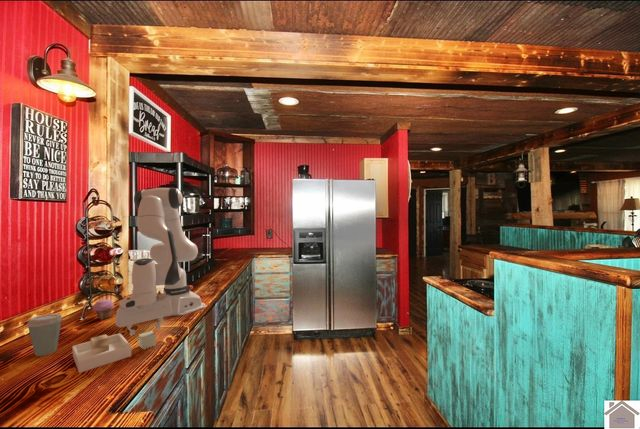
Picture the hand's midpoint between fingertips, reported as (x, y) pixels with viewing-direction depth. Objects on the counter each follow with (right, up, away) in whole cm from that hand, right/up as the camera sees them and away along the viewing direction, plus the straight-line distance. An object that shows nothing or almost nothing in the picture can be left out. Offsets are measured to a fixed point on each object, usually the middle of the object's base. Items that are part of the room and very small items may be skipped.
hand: (145, 331), depth 124 cm
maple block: (-16, -6, -4) cm, 17 cm away
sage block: (0, -7, +1) cm, 7 cm away
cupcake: (-43, -7, +35) cm, 56 cm away
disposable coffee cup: (-38, -8, -3) cm, 39 cm away
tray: (-13, -7, -7) cm, 16 cm away
